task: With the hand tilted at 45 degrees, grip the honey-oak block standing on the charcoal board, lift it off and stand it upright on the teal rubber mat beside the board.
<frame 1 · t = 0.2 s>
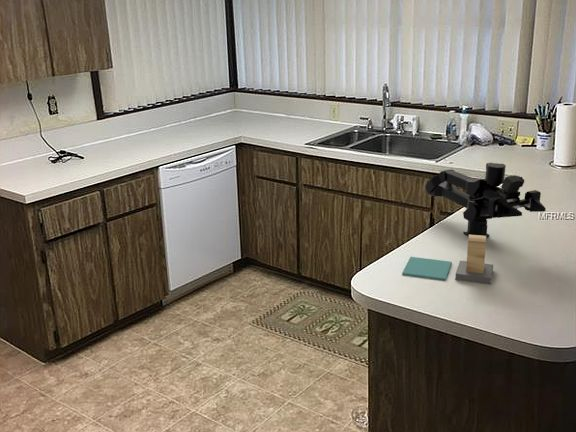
hand: (533, 212, 194), 16 cm above the worktop, tool horizontal, fingers open, 9 cm apart
oak block: (474, 268, 191), point 2 cm above the worktop, touching charcoal board
teal mat: (427, 268, 196), on the worktop
charcoal board: (474, 275, 191), on the worktop
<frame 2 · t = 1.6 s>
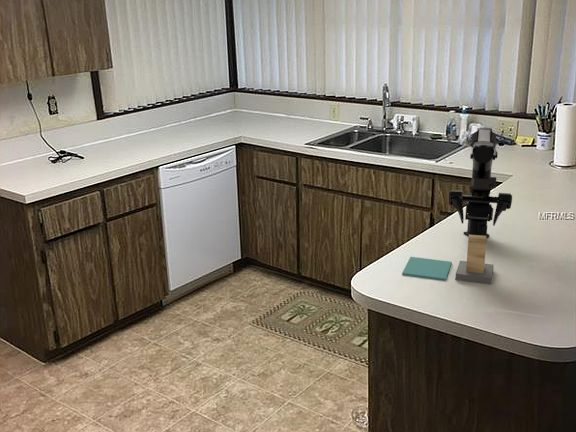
hand: (478, 224, 194), 14 cm above the worktop, tool tilted 45°, fingers open, 9 cm apart
nothing on the worktop moved.
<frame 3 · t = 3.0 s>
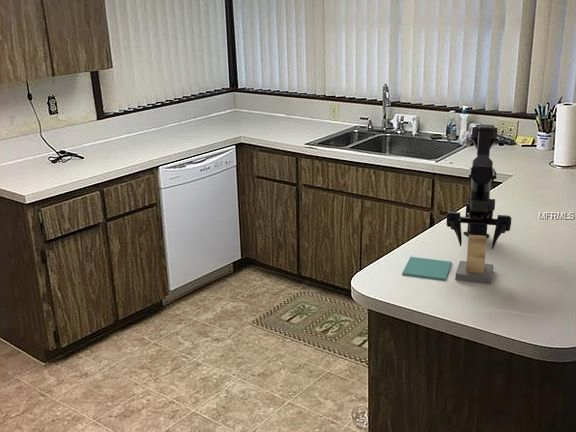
hand: (476, 246, 190), 9 cm above the worktop, tool tilted 45°, fingers open, 9 cm apart
nothing on the worktop moved.
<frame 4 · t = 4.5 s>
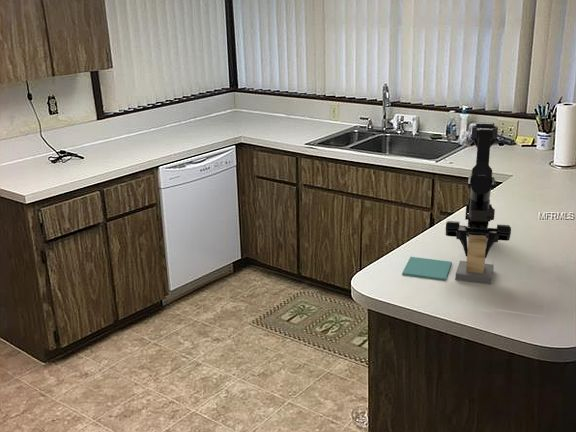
hand: (475, 256, 188), 7 cm above the worktop, tool tilted 45°, fingers closed on oak block, 5 cm apart
oak block: (474, 268, 191), point 2 cm above the worktop, touching charcoal board, gripper
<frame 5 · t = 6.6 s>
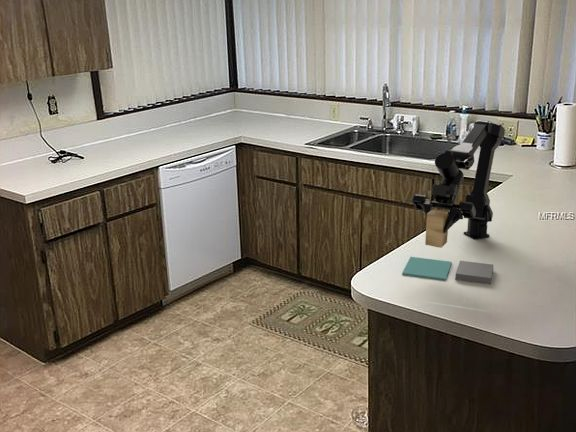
hand: (435, 230, 190), 14 cm above the worktop, tool tilted 45°, fingers closed on oak block, 5 cm apart
oak block: (436, 243, 192), point 9 cm above the worktop, touching gripper
when the fingers open (7 cm above the worktop, at t = 8.9 s): oak block drops 1 cm, resting on teal mat.
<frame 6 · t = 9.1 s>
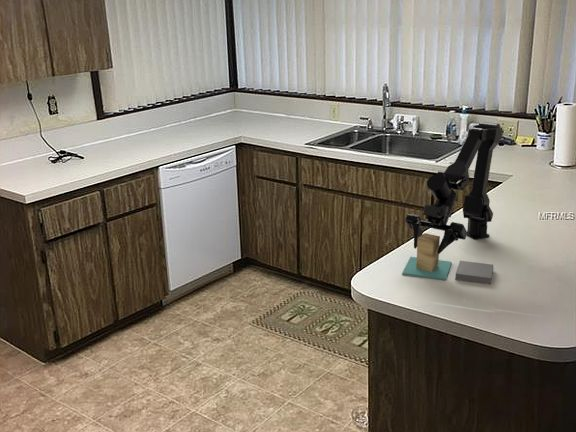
hand: (426, 250, 193), 7 cm above the worktop, tool tilted 45°, fingers open, 7 cm apart
oak block: (427, 267, 196), point 1 cm above the worktop, touching teal mat
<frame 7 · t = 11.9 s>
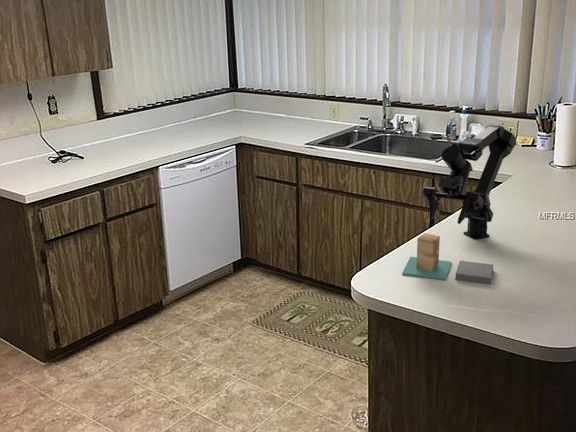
hand: (444, 221, 198), 13 cm above the worktop, tool tilted 40°, fingers open, 9 cm apart
nothing on the worktop moved.
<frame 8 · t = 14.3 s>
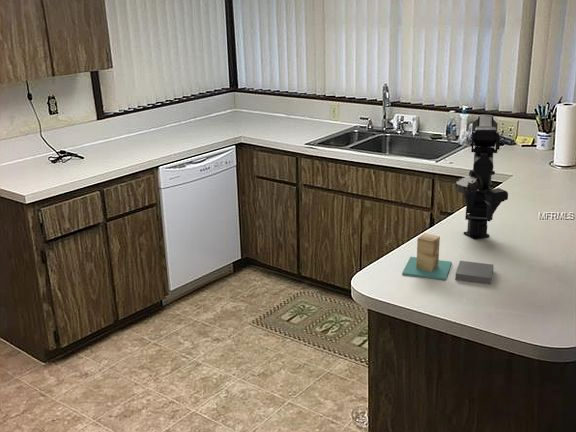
hand: (479, 214, 204), 13 cm above the worktop, tool pointing down, fingers open, 9 cm apart
nothing on the worktop moved.
at the end: oak block inside the target area on the teal mat (0.1 cm from its centre), point 0.6 cm above the teal mat's base; oak block tilted 0°; oak block touching teal mat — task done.
